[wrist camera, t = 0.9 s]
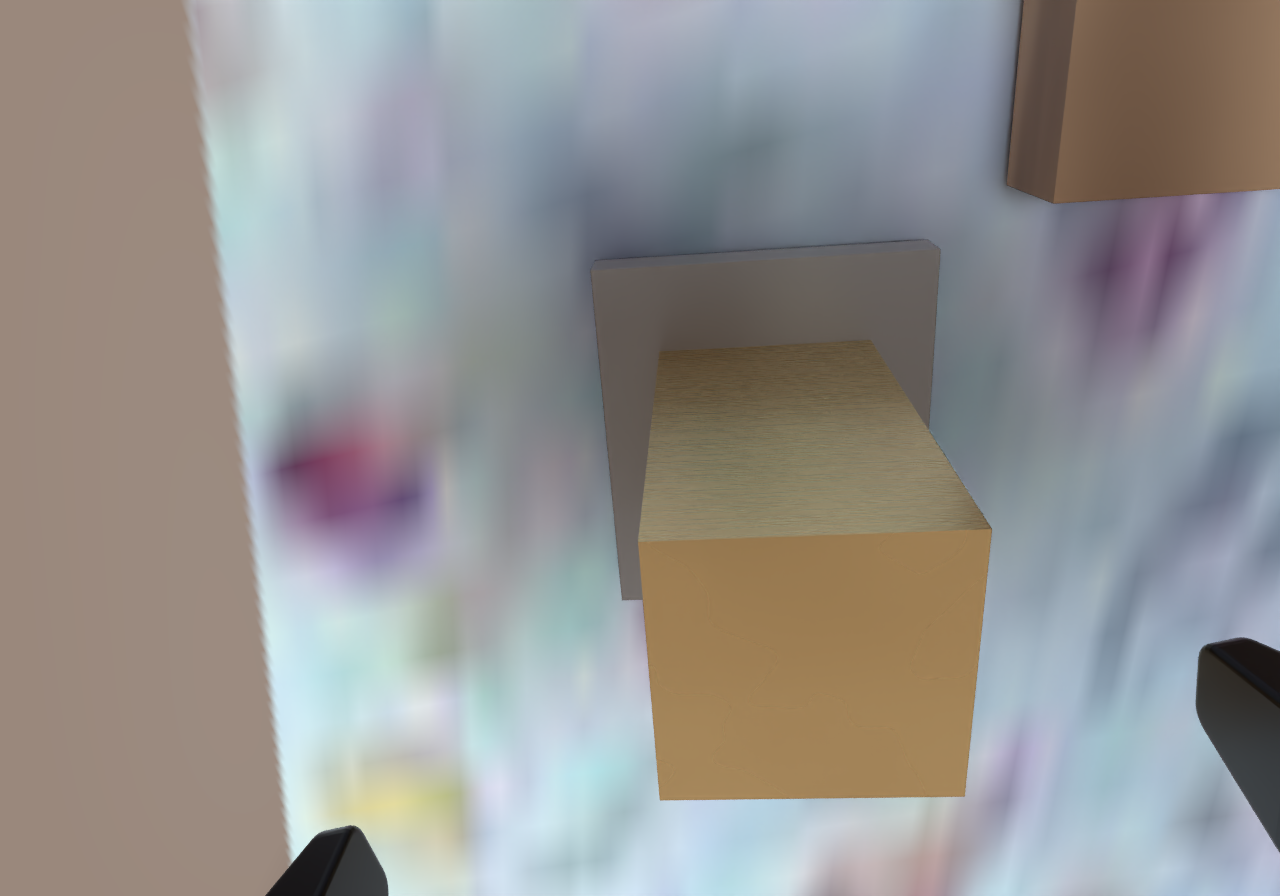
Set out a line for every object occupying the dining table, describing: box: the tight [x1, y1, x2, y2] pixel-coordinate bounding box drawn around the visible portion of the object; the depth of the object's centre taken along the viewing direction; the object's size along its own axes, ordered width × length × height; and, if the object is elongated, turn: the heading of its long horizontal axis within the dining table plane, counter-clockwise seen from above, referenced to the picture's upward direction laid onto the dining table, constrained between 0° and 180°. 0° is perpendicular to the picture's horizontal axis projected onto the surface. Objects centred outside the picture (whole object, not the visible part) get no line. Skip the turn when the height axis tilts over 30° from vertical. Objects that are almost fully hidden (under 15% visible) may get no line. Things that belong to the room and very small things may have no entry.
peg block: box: [638, 340, 992, 800], centre depth 15 cm, size 4×4×8 cm
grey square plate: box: [590, 240, 940, 600], centre depth 20 cm, size 7×8×1 cm
